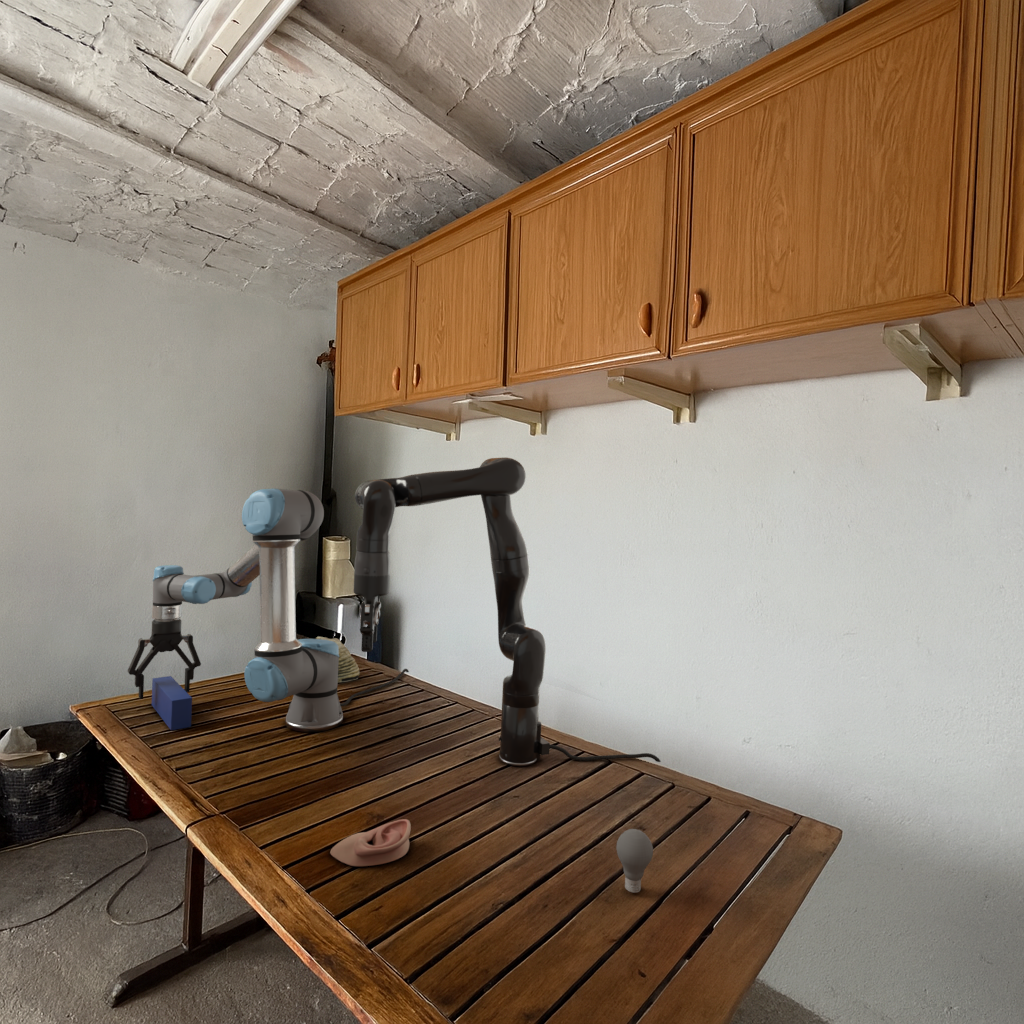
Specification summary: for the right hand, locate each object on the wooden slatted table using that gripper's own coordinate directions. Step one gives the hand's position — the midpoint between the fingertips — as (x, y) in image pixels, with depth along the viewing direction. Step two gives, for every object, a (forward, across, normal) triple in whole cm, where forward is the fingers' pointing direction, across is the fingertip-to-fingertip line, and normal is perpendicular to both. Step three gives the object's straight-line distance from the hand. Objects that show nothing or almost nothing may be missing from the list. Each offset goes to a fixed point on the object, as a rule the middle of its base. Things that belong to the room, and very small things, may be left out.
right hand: (369, 646), depth 137 cm
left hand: (+28, +53, +63) cm, 87 cm away
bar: (+31, +46, +59) cm, 81 cm away
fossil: (+31, +81, +20) cm, 89 cm away
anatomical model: (+31, -24, -4) cm, 40 cm away
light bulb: (+31, -38, -49) cm, 69 cm away
